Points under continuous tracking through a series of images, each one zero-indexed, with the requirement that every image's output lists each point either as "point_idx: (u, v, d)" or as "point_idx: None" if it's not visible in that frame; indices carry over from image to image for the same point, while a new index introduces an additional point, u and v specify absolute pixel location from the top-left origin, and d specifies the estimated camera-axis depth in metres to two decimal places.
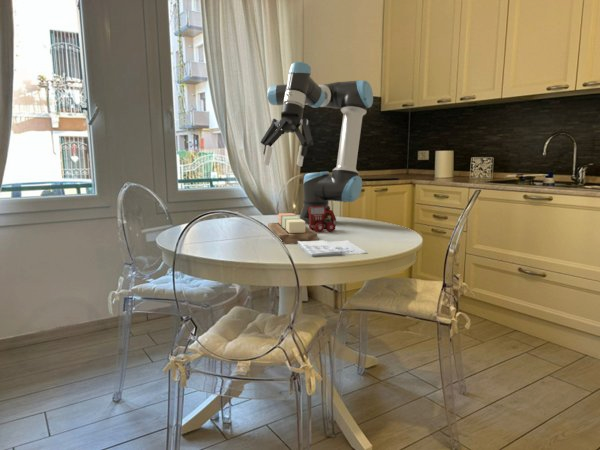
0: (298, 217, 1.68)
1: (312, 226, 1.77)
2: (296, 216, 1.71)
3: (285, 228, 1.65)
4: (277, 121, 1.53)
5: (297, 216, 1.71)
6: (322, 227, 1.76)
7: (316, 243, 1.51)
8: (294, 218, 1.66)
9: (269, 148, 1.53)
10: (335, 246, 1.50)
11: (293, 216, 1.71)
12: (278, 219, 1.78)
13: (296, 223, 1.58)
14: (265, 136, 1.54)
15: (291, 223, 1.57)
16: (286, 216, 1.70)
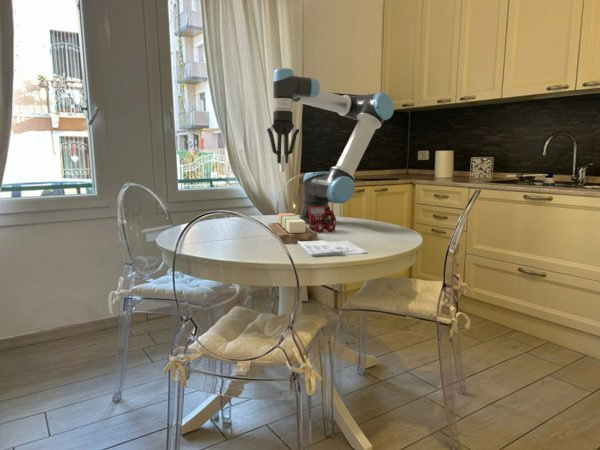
0: (298, 217, 1.68)
1: (312, 226, 1.77)
2: (296, 216, 1.71)
3: (285, 228, 1.65)
4: (270, 128, 1.68)
5: (297, 216, 1.71)
6: (322, 227, 1.76)
7: (316, 243, 1.51)
8: (294, 218, 1.66)
9: None
10: (335, 246, 1.50)
11: (293, 216, 1.71)
12: (278, 219, 1.78)
13: (296, 223, 1.58)
14: (274, 146, 1.69)
15: (291, 223, 1.57)
16: (286, 216, 1.70)
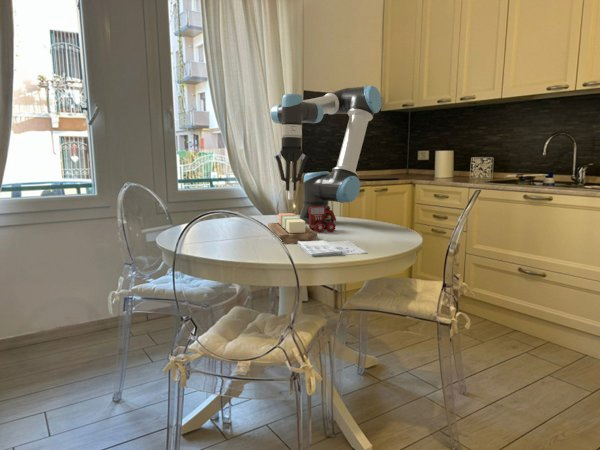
0: (298, 217, 1.68)
1: (312, 226, 1.77)
2: (296, 216, 1.71)
3: (285, 228, 1.65)
4: (278, 155, 1.63)
5: (297, 216, 1.71)
6: (322, 227, 1.76)
7: (316, 243, 1.51)
8: (294, 218, 1.66)
9: None
10: (335, 246, 1.50)
11: (293, 216, 1.71)
12: (278, 219, 1.78)
13: (296, 223, 1.58)
14: (282, 173, 1.63)
15: (291, 223, 1.57)
16: (286, 216, 1.70)
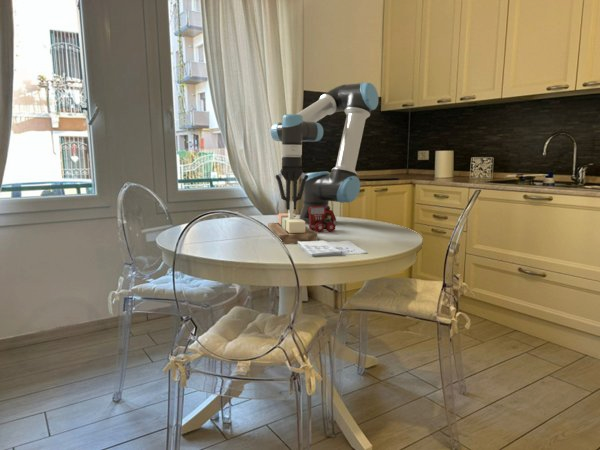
0: (298, 218, 1.68)
1: (312, 226, 1.77)
2: (296, 217, 1.71)
3: (285, 229, 1.65)
4: (278, 175, 1.64)
5: (296, 217, 1.71)
6: (322, 227, 1.76)
7: (316, 243, 1.51)
8: None
9: None
10: (335, 246, 1.50)
11: None
12: (278, 219, 1.78)
13: (296, 223, 1.58)
14: (282, 192, 1.64)
15: (291, 223, 1.57)
16: (287, 217, 1.70)
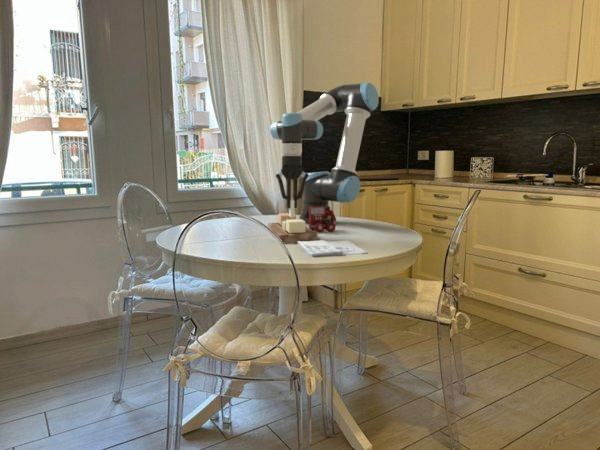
0: None
1: (312, 226, 1.77)
2: None
3: None
4: (279, 174, 1.64)
5: None
6: (322, 227, 1.76)
7: (316, 243, 1.51)
8: None
9: None
10: (335, 246, 1.50)
11: None
12: (278, 219, 1.78)
13: (296, 223, 1.58)
14: (283, 191, 1.65)
15: (291, 223, 1.57)
16: None
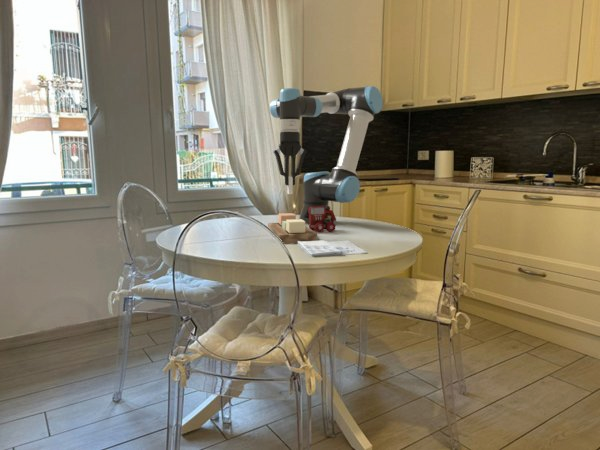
0: None
1: (312, 226, 1.77)
2: None
3: None
4: (277, 150, 1.63)
5: None
6: (322, 227, 1.76)
7: (316, 243, 1.51)
8: None
9: None
10: (335, 246, 1.50)
11: None
12: (278, 219, 1.78)
13: (296, 223, 1.58)
14: (281, 168, 1.64)
15: (291, 223, 1.57)
16: None
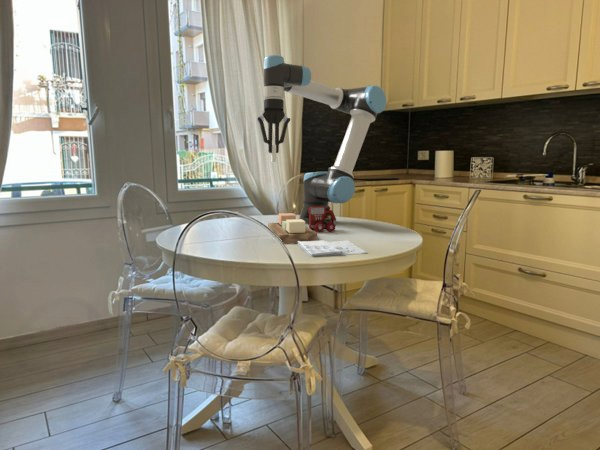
0: None
1: (312, 226, 1.77)
2: None
3: None
4: (261, 117, 1.65)
5: None
6: (322, 227, 1.76)
7: (316, 243, 1.51)
8: None
9: None
10: (335, 246, 1.50)
11: None
12: (278, 219, 1.78)
13: (296, 223, 1.58)
14: (264, 135, 1.65)
15: (291, 223, 1.57)
16: None
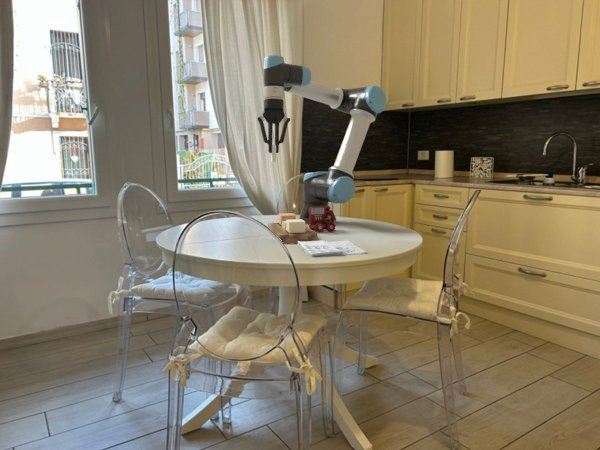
0: None
1: (312, 226, 1.77)
2: None
3: None
4: (261, 117, 1.65)
5: None
6: (322, 227, 1.76)
7: (316, 243, 1.51)
8: None
9: None
10: (335, 246, 1.50)
11: None
12: (278, 219, 1.78)
13: (296, 223, 1.58)
14: (264, 135, 1.65)
15: (291, 223, 1.57)
16: None
